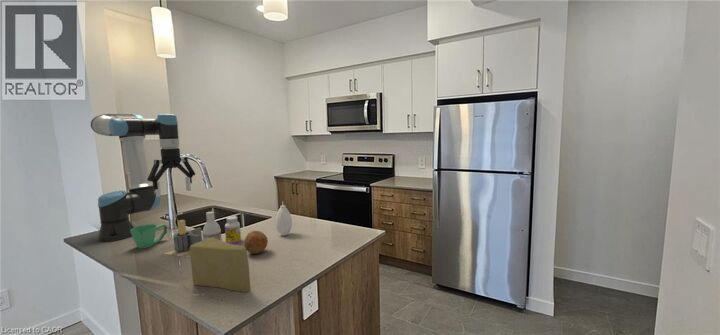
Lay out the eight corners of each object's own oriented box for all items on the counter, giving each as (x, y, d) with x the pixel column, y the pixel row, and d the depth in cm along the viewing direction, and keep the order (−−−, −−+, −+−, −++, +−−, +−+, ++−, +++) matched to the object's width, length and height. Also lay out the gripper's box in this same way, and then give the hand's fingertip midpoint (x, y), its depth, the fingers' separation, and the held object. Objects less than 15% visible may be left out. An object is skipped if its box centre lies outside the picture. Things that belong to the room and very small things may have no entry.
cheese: (260, 285, 106) (257, 243, 104) (237, 299, 97) (234, 254, 95) (215, 273, 115) (212, 235, 114) (192, 285, 107) (187, 244, 105)
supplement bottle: (223, 245, 143) (220, 219, 142) (232, 240, 150) (230, 215, 148) (234, 246, 141) (232, 220, 140) (244, 241, 148) (242, 216, 146)
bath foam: (223, 259, 128) (219, 213, 125) (205, 263, 125) (200, 215, 122) (222, 253, 134) (219, 209, 131) (205, 257, 131) (200, 211, 128)
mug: (138, 254, 136) (136, 232, 134) (129, 250, 141) (126, 229, 140) (173, 243, 148) (171, 223, 147) (163, 239, 153) (160, 220, 152)
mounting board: (162, 255, 133) (162, 253, 133) (193, 242, 148) (193, 240, 148) (188, 259, 128) (188, 257, 128) (217, 245, 143) (217, 243, 143)
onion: (272, 249, 137) (271, 227, 136) (259, 258, 128) (258, 235, 127) (254, 247, 140) (252, 226, 139) (240, 256, 130) (238, 233, 129)
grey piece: (171, 251, 135) (169, 235, 134) (195, 240, 147) (194, 226, 146) (193, 254, 131) (191, 238, 130) (216, 243, 143) (215, 229, 142)
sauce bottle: (295, 233, 157) (293, 199, 155) (284, 238, 150) (282, 203, 148) (284, 231, 161) (282, 198, 159) (273, 236, 155) (271, 201, 152)
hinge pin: (180, 248, 138) (177, 220, 137) (188, 247, 139) (185, 219, 138) (180, 250, 135) (176, 222, 134) (187, 249, 137) (184, 220, 135)
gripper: (143, 150, 128) (148, 199, 131) (200, 146, 149) (204, 189, 152) (135, 149, 132) (140, 197, 135) (192, 145, 153) (195, 187, 156)
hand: (174, 193), depth 143 cm, fingers open, 13 cm apart
